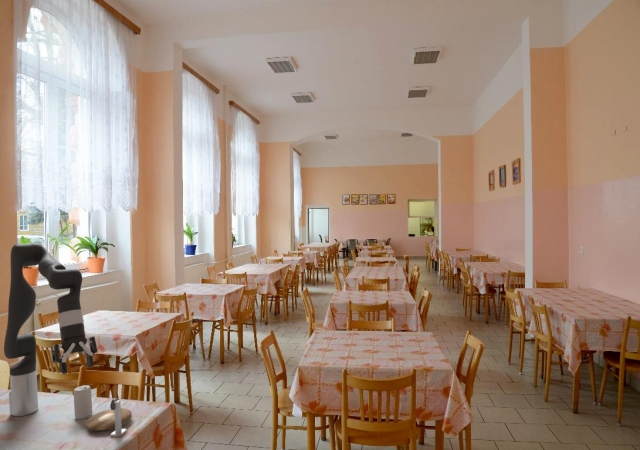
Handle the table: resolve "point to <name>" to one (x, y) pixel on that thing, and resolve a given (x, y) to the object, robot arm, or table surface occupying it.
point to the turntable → (107, 419)
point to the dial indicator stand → (117, 418)
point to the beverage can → (82, 402)
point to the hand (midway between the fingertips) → (77, 370)
